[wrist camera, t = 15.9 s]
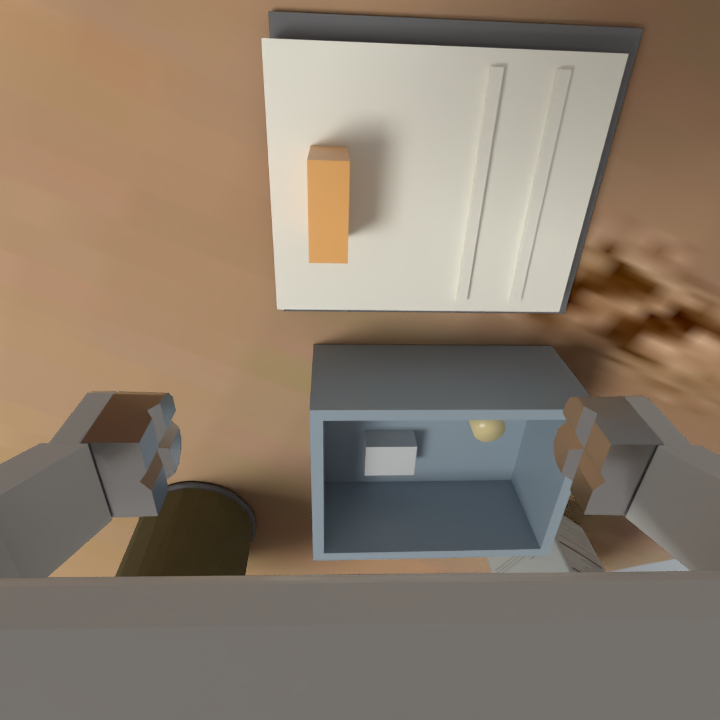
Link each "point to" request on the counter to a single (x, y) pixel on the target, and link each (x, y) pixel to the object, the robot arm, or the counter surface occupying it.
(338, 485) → the grey storage box
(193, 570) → the canister
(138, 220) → the counter surface
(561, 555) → the supplement box
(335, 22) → the mat
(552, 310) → the lid
